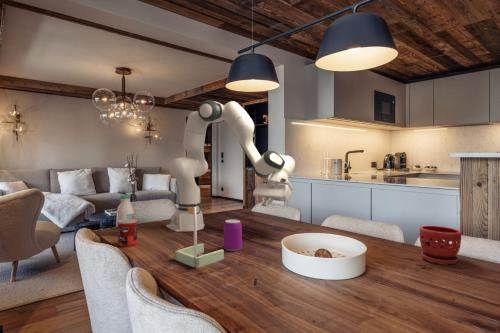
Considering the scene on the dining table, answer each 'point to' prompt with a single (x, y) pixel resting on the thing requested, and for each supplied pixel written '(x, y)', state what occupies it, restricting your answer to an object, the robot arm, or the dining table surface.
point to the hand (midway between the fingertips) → (264, 205)
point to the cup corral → (197, 250)
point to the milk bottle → (125, 208)
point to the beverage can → (232, 235)
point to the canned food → (127, 232)
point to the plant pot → (440, 244)
